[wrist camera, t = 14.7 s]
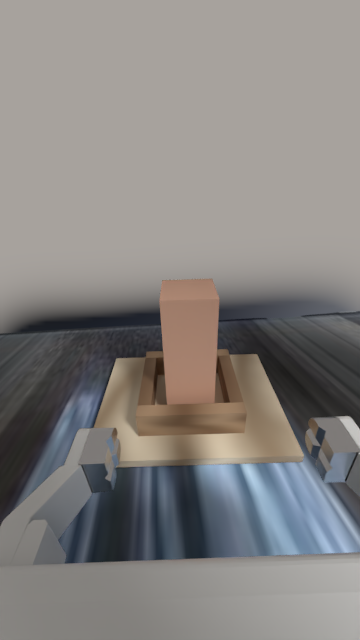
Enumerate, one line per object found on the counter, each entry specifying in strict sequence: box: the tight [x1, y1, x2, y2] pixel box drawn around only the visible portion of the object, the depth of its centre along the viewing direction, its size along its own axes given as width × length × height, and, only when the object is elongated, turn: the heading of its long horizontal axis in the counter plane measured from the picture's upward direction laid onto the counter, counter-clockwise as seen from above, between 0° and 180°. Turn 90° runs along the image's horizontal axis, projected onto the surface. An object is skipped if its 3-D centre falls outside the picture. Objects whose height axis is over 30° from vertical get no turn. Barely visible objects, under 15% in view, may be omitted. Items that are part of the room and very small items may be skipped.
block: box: [160, 279, 219, 405], centre depth 24 cm, size 4×4×12 cm
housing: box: [94, 349, 304, 467], centre depth 27 cm, size 18×14×3 cm
